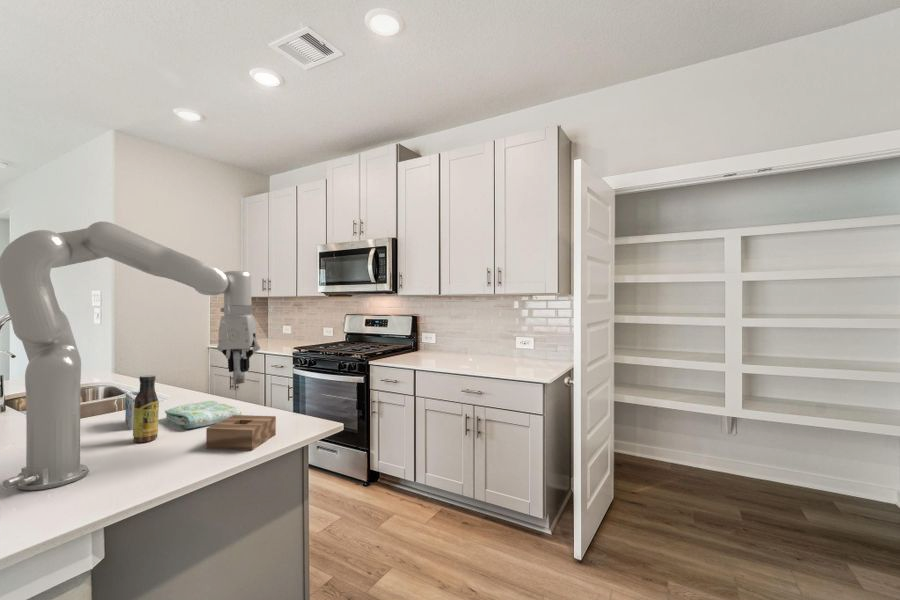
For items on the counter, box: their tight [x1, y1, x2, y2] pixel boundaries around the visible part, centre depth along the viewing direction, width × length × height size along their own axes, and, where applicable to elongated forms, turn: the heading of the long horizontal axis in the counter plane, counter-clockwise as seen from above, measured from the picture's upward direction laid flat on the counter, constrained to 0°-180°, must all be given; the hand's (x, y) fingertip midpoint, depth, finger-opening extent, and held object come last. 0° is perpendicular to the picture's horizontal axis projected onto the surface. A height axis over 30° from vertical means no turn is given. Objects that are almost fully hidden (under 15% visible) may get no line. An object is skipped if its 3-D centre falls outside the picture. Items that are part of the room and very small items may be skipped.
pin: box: [232, 349, 246, 385], centre depth 128 cm, size 3×3×12 cm
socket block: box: [205, 414, 277, 452], centre depth 129 cm, size 14×14×6 cm
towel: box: [164, 400, 243, 430], centre depth 151 cm, size 18×21×5 cm
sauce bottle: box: [132, 374, 160, 444], centre depth 130 cm, size 6×6×20 cm
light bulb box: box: [124, 390, 140, 431], centre depth 145 cm, size 11×7×11 cm, turn 47°
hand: (238, 370), depth 128 cm, fingers closed on pin, 3 cm apart
